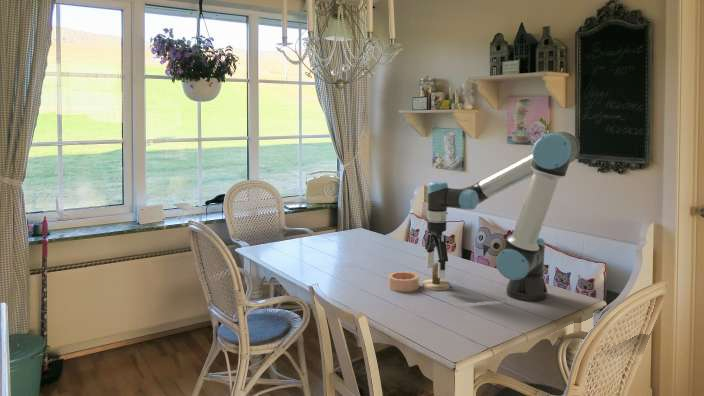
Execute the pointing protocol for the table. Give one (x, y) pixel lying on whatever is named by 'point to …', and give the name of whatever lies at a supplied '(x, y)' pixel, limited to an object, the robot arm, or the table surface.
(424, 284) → the lid
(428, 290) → the mat
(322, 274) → the table surface
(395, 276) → the bowl
